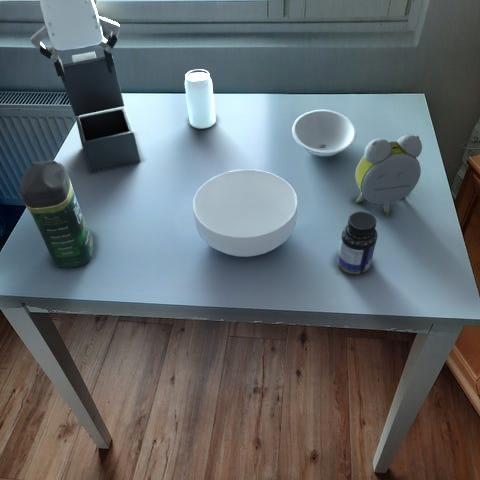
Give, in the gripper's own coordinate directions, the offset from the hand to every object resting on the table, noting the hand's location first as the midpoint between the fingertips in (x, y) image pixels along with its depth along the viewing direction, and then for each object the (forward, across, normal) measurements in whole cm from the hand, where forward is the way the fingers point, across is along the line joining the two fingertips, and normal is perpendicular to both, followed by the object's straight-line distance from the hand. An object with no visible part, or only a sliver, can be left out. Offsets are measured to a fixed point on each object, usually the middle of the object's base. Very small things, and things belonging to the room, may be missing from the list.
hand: (87, 74), depth 99 cm
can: (+18, -25, -4) cm, 31 cm away
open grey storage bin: (+18, -1, +1) cm, 19 cm away
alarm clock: (+18, -51, +41) cm, 68 cm away
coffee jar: (+19, +12, +32) cm, 39 cm away
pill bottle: (+19, -38, +54) cm, 68 cm away
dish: (+18, -48, +18) cm, 54 cm away
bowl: (+19, -22, +39) cm, 48 cm away
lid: (+4, 0, -3) cm, 5 cm away
